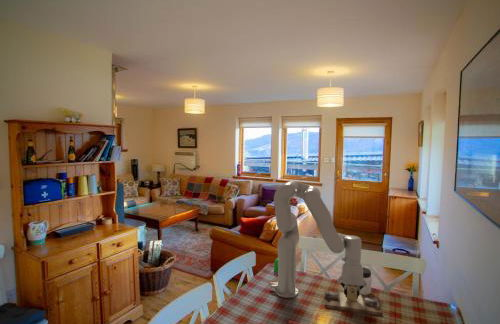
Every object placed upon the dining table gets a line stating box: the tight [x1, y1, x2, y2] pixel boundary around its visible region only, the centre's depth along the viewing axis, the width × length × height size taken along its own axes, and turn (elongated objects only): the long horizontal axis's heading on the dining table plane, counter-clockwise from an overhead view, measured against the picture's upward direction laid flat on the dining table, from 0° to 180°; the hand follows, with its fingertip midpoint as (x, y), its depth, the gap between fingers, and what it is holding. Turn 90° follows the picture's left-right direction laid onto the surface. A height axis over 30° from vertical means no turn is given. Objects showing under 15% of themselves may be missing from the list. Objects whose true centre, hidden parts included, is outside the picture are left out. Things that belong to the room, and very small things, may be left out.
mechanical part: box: [273, 257, 278, 274], centre depth 183 cm, size 12×6×8 cm, turn 134°
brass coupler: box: [347, 285, 357, 301], centre depth 145 cm, size 5×6×7 cm
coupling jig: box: [324, 290, 383, 316], centre depth 145 cm, size 26×14×4 cm, turn 76°
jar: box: [359, 266, 372, 296], centre depth 158 cm, size 9×8×12 cm
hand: (351, 296), depth 145 cm, fingers closed on brass coupler, 4 cm apart
